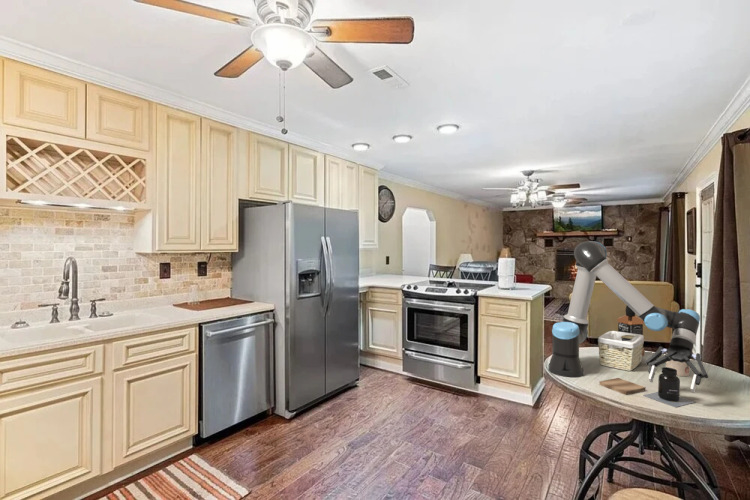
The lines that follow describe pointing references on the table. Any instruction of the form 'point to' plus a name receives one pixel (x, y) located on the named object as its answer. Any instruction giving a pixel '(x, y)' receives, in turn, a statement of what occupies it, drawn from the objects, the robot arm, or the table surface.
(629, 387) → the walnut board
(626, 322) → the whiskey bottle
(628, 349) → the storage basket
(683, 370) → the teacup with lid
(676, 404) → the gray card
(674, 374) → the supplement bottle
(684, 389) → the table surface
